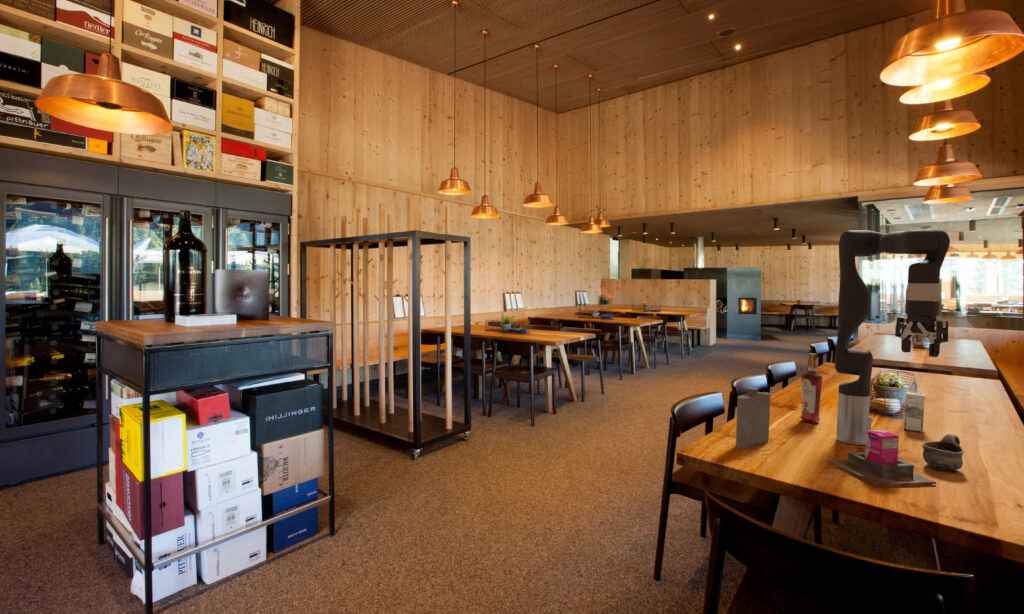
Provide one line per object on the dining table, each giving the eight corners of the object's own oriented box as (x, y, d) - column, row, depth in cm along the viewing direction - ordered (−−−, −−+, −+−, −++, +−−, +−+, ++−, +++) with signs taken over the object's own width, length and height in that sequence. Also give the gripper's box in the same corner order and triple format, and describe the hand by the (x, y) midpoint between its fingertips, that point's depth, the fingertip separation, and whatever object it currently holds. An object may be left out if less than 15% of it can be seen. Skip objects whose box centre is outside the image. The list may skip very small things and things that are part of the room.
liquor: (795, 420, 199) (798, 353, 198) (807, 418, 202) (809, 352, 201) (812, 425, 192) (815, 355, 191) (824, 423, 196) (827, 354, 194)
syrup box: (922, 429, 188) (924, 392, 187) (922, 433, 183) (924, 395, 183) (903, 426, 192) (905, 390, 191) (903, 430, 187) (905, 393, 186)
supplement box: (863, 466, 147) (865, 429, 146) (881, 466, 147) (883, 429, 146) (879, 474, 141) (881, 436, 140) (898, 473, 141) (900, 435, 141)
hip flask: (742, 449, 164) (744, 391, 163) (731, 445, 168) (733, 389, 167) (770, 442, 172) (772, 386, 171) (759, 438, 176) (761, 384, 174)
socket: (881, 461, 154) (882, 447, 154) (935, 485, 136) (936, 469, 136) (828, 463, 152) (829, 449, 152) (876, 487, 134) (877, 471, 134)
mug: (916, 466, 150) (917, 435, 149) (929, 458, 157) (931, 428, 156) (957, 477, 142) (959, 443, 141) (969, 468, 149) (971, 436, 148)
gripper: (889, 298, 147) (886, 351, 148) (934, 300, 133) (931, 358, 134) (911, 298, 147) (909, 350, 148) (959, 300, 133) (955, 358, 134)
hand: (919, 354), depth 141 cm, fingers open, 8 cm apart
